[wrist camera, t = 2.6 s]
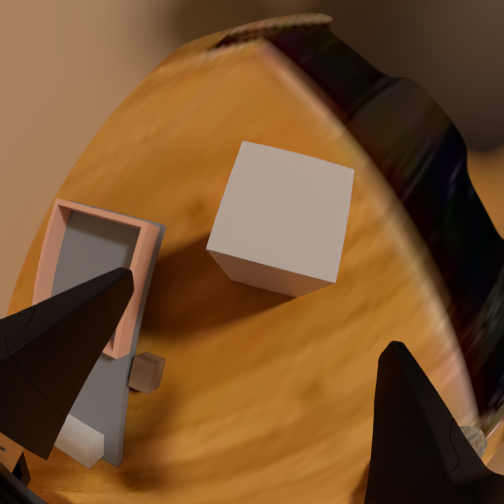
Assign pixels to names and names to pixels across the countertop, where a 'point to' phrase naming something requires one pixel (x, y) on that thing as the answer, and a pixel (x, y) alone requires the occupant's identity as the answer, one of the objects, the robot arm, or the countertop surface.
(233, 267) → the grey block
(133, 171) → the countertop surface
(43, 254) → the board
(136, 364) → the pivot stand
